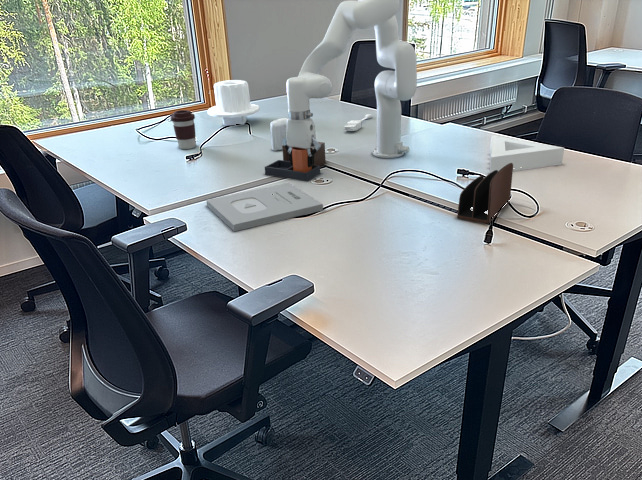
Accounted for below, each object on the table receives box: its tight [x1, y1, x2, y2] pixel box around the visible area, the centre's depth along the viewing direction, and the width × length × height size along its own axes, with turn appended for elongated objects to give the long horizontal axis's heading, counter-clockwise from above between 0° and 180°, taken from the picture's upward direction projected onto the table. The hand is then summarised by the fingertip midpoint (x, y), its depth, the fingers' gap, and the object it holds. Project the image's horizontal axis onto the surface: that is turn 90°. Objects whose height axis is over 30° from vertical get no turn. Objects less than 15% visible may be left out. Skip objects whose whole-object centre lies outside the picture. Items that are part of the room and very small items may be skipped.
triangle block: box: [489, 134, 565, 174], centre depth 216 cm, size 30×26×6 cm
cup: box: [292, 147, 312, 173], centre depth 211 cm, size 7×7×9 cm
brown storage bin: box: [281, 141, 326, 167], centre depth 224 cm, size 13×10×8 cm
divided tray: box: [264, 159, 321, 182], centre depth 216 cm, size 18×10×3 cm, turn 61°
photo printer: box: [269, 117, 289, 151], centre depth 243 cm, size 10×4×12 cm, turn 123°
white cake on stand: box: [207, 79, 261, 127], centre depth 282 cm, size 25×25×19 cm
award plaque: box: [205, 182, 324, 232], centre depth 187 cm, size 25×30×2 cm
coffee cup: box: [170, 109, 197, 150], centre depth 248 cm, size 10×10×15 cm
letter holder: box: [456, 163, 514, 225], centre depth 177 cm, size 10×20×14 cm, turn 148°
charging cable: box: [343, 113, 372, 132], centre depth 276 cm, size 5×32×3 cm, turn 160°
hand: (302, 164), depth 212 cm, fingers closed on cup, 6 cm apart
